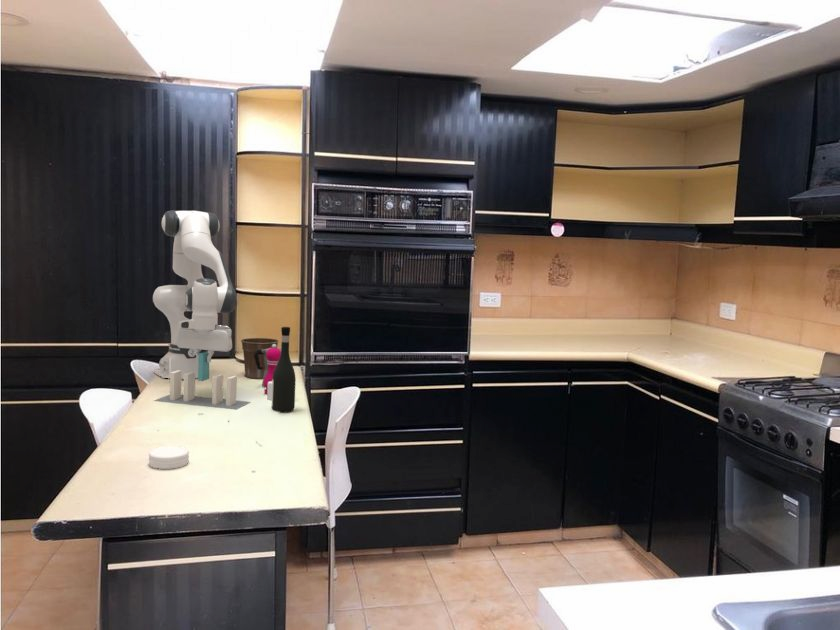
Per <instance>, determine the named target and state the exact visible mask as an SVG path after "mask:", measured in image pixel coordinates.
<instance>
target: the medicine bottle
mask: <svg viewBox="0 0 840 630" xmlns="http://www.w3.org/2000/svg"><path fill="white" fill-rule="evenodd" d="M273 374H274V371H273ZM266 399H267V401H271V402H272V381H270V382H268V385H267V396H266Z"/></svg>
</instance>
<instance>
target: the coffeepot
mask: <svg viewBox="0 0 840 630" xmlns="http://www.w3.org/2000/svg"><path fill="white" fill-rule="evenodd" d="M273 344H276V343H272V345H273ZM277 348H278V347H277ZM268 349H270V348H268ZM268 349H263V350H257V351H256V352H255V353H254V358H255V361H256V364H257V368H258V369H259V370H262V369H263V367H260V362H259V357H258V355H259V354H264V363H265V372H264V377H263V379H262V383H261V386H262V388H265V386H264V384H263V383H264V379H265V377H266V375H267V372H268V364H267V360H268V358H267V357H266V352H267V350H268ZM278 349H280V351H281V348H280V347H279V348H278Z"/></svg>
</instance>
